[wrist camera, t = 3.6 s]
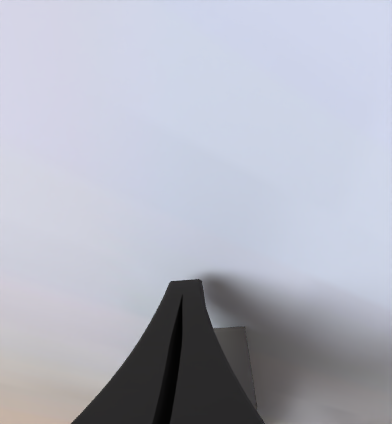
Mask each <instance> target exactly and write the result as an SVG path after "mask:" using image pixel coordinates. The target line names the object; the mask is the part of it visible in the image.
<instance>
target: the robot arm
mask: <svg viewBox="0 0 392 424" xmlns="http://www.w3.org/2000/svg"><path fill="white" fill-rule="evenodd" d="M71 424H265V423H264V422H263V420H262V419H261V417H260V416H259V414H258V412H257V411H256V409H255V408H254V406H253V405H252V403H251V401H250V400H249V398H248V397H247V395H246V393H245V391H244V390H243V388H242V386H241V384H240V383H239V381H238V379H237V377H236V376H235V374H234V372H233V370H232V368H231V366H230V364H229V362H228V361H227V358H226V356H225V354H224V352H223V350H222V348H221V346H220V344H219V341H218V339H217V337H216V334H215V332H214V329H213V327H212V324H211V321H210V318H209V315H208V312H207V309H206V305H205V299H204V292H203V286H202V281H201V280H199V279H195V280H182V281H171V282H170V283H169V285H168V288H167V290H166V292H165V295H164V297H163V299H162V301H161V303H160V305H159V307H158V309H157V311H156V313H155V314H154V316H153V318H152V320H151V322H150V324H149V325H148V327H147V329H146V330H145V332H144V333H143V335H142V337H141V338H140V340H139V342H138V343H137V345H136V346H135V348H134V349H133V351H132V352H131V353H130V355H129V356H128V358H127V359H126V360H125V362H124V363H123V365H122V366H121V367H120V368H119V370H118V371H117V372H116V374H115V375H114V376H113V377H112V379H111V380H110V381H109V382H108V384H107V385H106V386H105V387H104V388H103V389H102V391H101V392H100V393H99V394H98V395H97V396H96V397H95V398H94V400H93V401H92V402H91V403H90V404H89V405H88V406H87V407H86V408H85V409H84V411H83V412H82V413H81V414H80V415H79V416H78V417H77V418H76V419H75V420H74V421H73V422H72V423H71Z"/></svg>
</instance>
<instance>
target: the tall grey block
mask: <svg viewBox="0 0 392 424" xmlns="http://www.w3.org/2000/svg"><path fill="white" fill-rule="evenodd" d="M214 332H215V334H216V337H217V339H218V341H219V344H220V346H221V348H222V350H223V352H224V354H225V356H226V358H227V361H228V362H229V364H230V366H231V368H232V370H233V372H234V374H235V376H236V377H237V379H238V381H239V383H240V384H241V386H242V388H243V390H244V391H245V393H246V395H247V397H248V398H249V400H250V401H251V403H252V405H253V406H254V408H255V409H256V411H257V404H256V398H255V391H254V385H253V378H252V372H251V365H250V358H249V352H248V345H247V339H246V332H245V327H230V328H214Z"/></svg>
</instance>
